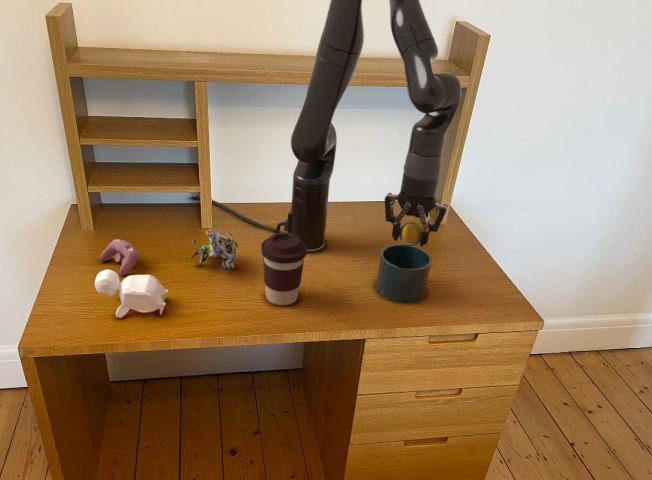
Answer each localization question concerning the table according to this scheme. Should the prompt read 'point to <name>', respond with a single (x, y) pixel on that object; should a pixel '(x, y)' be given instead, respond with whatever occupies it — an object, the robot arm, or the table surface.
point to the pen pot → (403, 273)
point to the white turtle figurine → (132, 291)
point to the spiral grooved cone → (410, 234)
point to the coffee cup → (283, 267)
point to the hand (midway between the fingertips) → (408, 241)
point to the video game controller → (121, 255)
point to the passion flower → (218, 249)
